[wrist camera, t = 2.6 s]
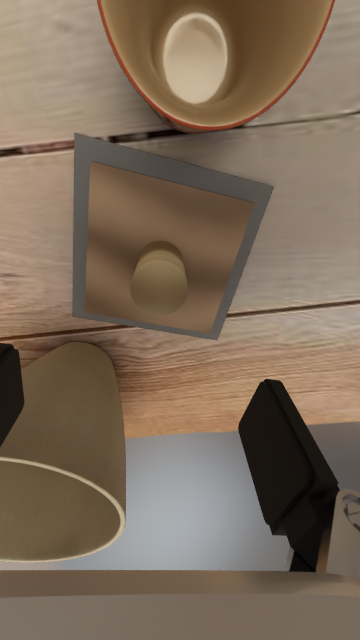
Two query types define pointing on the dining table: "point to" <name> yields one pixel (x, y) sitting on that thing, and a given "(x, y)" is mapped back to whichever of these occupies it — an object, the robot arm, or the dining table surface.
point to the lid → (159, 248)
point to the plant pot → (64, 459)
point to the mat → (170, 171)
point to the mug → (213, 54)
